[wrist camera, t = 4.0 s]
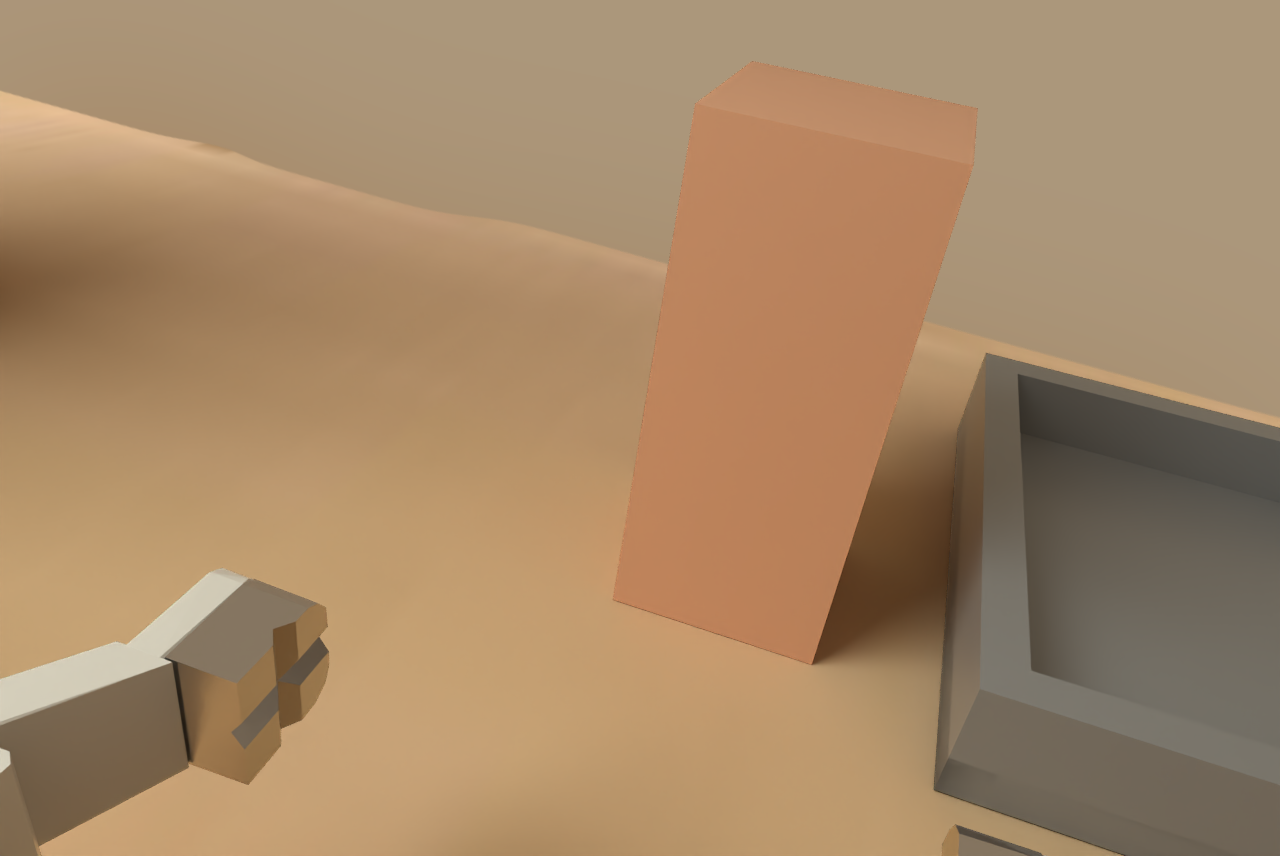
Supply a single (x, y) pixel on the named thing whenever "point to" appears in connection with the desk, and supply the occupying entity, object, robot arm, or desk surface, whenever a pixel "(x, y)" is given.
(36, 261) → the desk surface
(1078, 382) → the tray
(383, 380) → the desk surface
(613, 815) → the desk surface
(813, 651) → the block
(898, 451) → the desk surface
